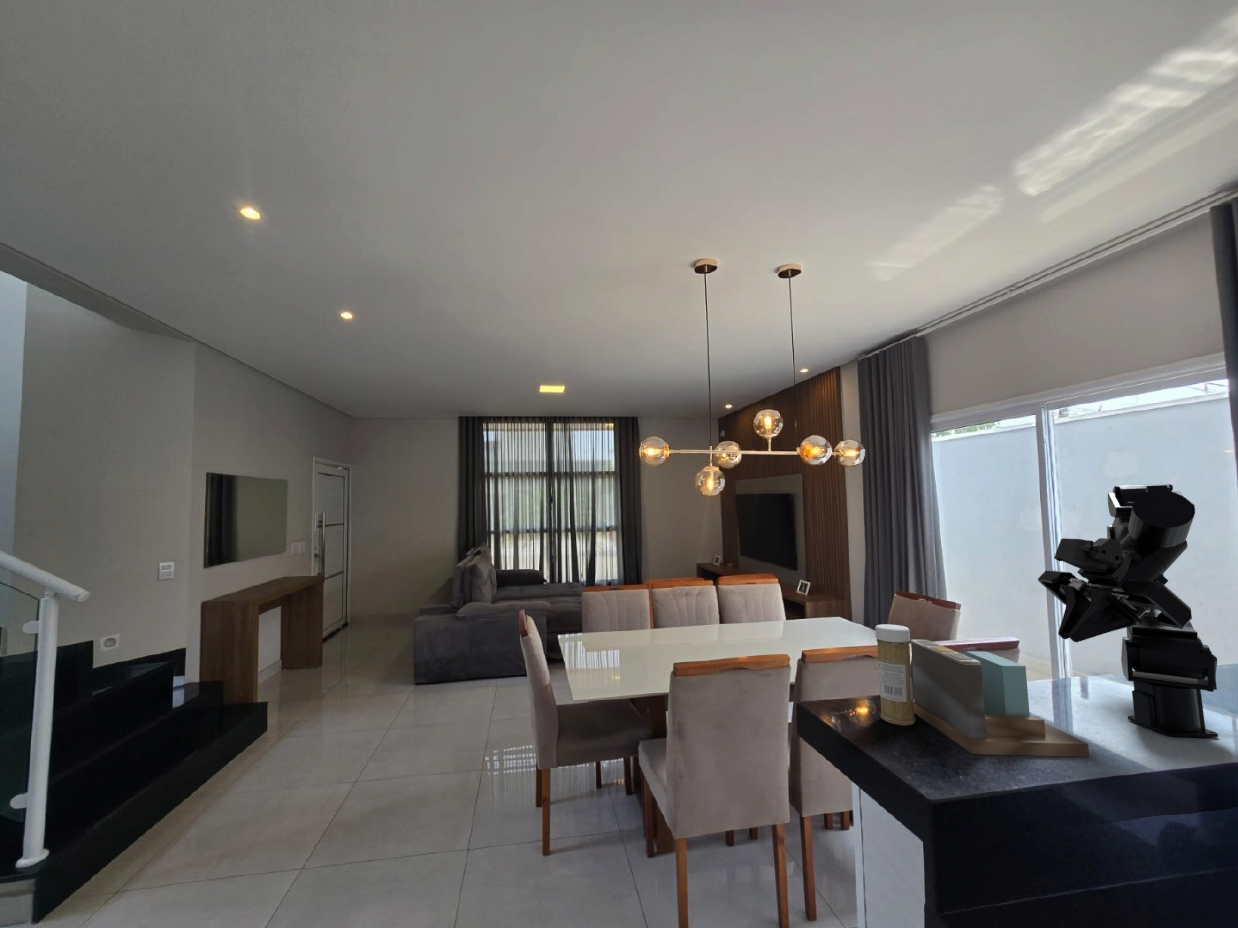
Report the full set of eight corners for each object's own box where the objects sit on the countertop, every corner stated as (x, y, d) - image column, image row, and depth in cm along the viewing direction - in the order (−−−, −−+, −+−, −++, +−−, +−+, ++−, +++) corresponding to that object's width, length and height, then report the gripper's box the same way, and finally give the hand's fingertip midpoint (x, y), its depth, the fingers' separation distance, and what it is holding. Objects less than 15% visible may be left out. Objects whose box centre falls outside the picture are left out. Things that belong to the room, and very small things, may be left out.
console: (1002, 710, 80) (996, 637, 82) (1089, 756, 65) (1080, 665, 66) (908, 709, 81) (904, 636, 82) (972, 753, 65) (965, 663, 67)
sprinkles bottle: (921, 722, 76) (915, 626, 77) (904, 729, 73) (898, 630, 75) (890, 712, 80) (885, 622, 81) (873, 718, 77) (868, 625, 79)
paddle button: (991, 707, 77) (986, 651, 78) (1030, 728, 69) (1025, 666, 70) (970, 707, 77) (966, 651, 78) (1007, 728, 69) (1002, 665, 70)
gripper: (1044, 519, 85) (979, 588, 84) (1156, 518, 66) (1074, 607, 65) (1101, 569, 83) (1035, 639, 83) (1230, 582, 65) (1147, 673, 64)
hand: (1066, 638), depth 74 cm, fingers closed
